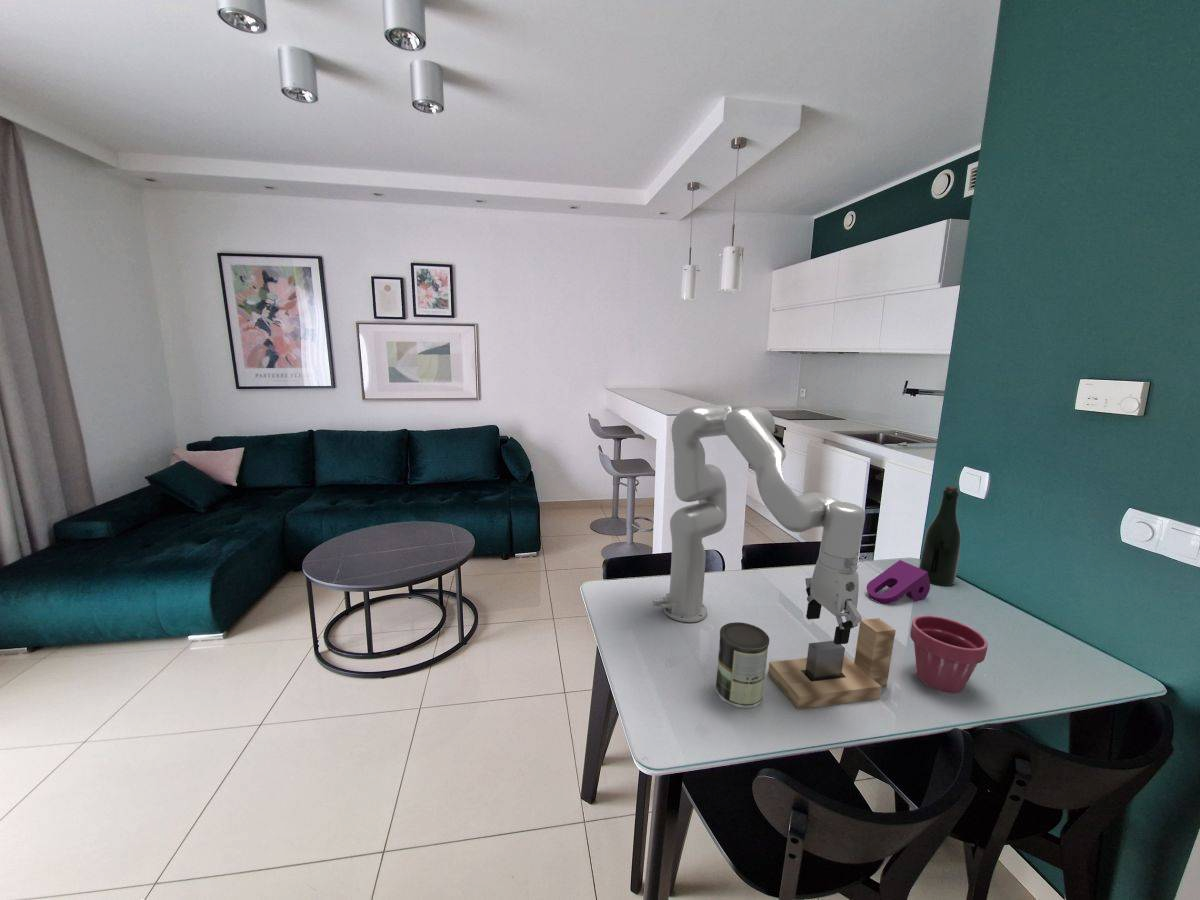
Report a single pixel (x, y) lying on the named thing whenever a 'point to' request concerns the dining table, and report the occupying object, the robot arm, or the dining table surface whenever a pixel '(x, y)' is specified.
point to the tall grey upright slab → (824, 661)
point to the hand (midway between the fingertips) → (826, 630)
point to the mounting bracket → (900, 583)
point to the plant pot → (946, 652)
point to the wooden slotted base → (856, 676)
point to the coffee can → (741, 664)
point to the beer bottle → (943, 542)
